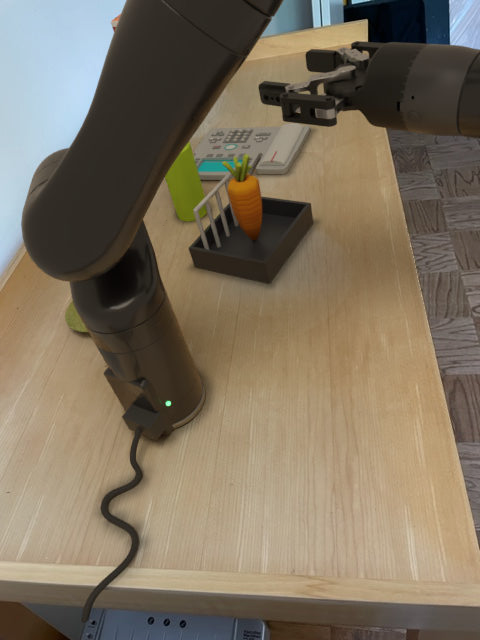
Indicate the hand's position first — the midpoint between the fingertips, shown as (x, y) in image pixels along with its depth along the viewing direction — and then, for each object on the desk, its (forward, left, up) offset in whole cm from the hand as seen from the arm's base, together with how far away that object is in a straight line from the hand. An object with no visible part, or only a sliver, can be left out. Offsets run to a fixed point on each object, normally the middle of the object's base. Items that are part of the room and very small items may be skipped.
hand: (285, 75), depth 59 cm
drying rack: (+6, +13, -30) cm, 33 cm away
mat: (-16, +28, -30) cm, 44 cm away
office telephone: (+33, +30, -30) cm, 54 cm away
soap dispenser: (+12, +29, -30) cm, 44 cm away
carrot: (+6, +13, -29) cm, 32 cm away
